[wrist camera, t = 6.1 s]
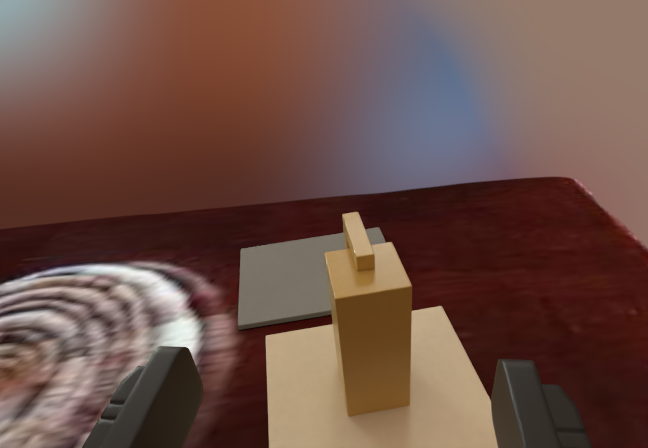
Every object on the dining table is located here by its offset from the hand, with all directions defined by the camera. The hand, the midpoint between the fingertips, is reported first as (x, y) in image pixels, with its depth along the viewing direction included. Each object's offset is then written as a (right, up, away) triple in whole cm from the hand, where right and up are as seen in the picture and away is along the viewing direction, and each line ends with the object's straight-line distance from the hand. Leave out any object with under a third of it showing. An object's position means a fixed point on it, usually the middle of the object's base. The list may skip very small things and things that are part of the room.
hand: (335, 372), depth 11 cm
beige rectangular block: (+3, -10, +20) cm, 23 cm away
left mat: (-1, -1, +34) cm, 34 cm away
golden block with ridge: (+3, -6, +19) cm, 20 cm away
